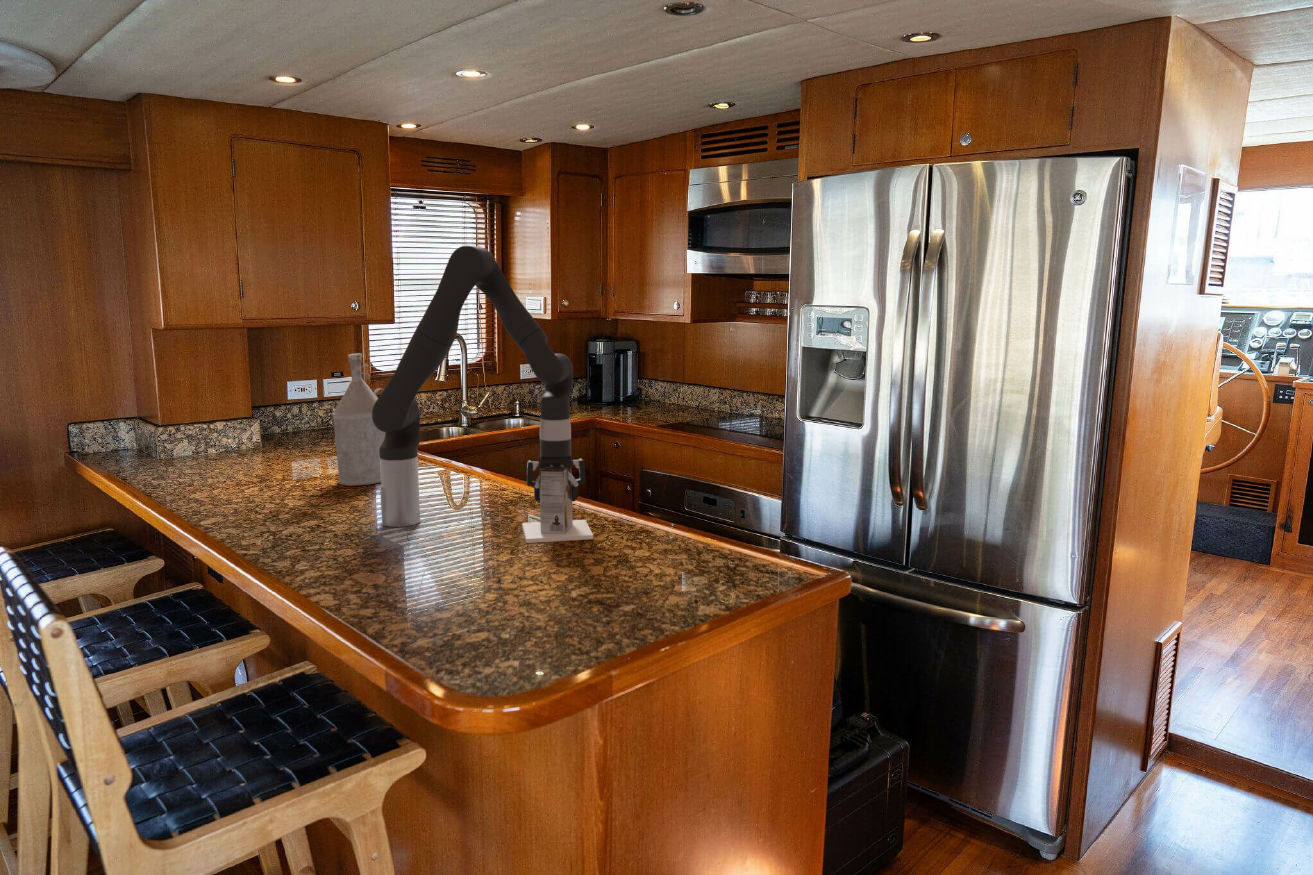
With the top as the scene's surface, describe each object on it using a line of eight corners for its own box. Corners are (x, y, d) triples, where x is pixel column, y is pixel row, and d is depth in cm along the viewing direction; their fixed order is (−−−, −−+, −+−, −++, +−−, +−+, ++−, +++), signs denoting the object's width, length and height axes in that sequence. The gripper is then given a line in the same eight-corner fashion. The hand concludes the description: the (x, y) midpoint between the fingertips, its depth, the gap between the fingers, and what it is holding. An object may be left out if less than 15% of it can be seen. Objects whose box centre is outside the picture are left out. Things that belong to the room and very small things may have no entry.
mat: (526, 543, 204) (526, 538, 203) (522, 526, 217) (522, 523, 217) (593, 539, 207) (593, 535, 207) (585, 523, 220) (585, 519, 220)
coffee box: (548, 523, 217) (547, 461, 214) (573, 524, 216) (572, 461, 213) (539, 533, 208) (538, 468, 205) (565, 534, 207) (565, 469, 204)
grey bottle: (402, 479, 269) (395, 352, 261) (351, 489, 256) (343, 355, 248) (379, 473, 277) (373, 350, 270) (329, 482, 264) (321, 353, 257)
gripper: (526, 440, 203) (528, 507, 205) (586, 438, 206) (587, 504, 208) (524, 435, 210) (526, 499, 213) (582, 433, 213) (583, 496, 216)
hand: (556, 501), depth 211 cm, fingers open, 8 cm apart
